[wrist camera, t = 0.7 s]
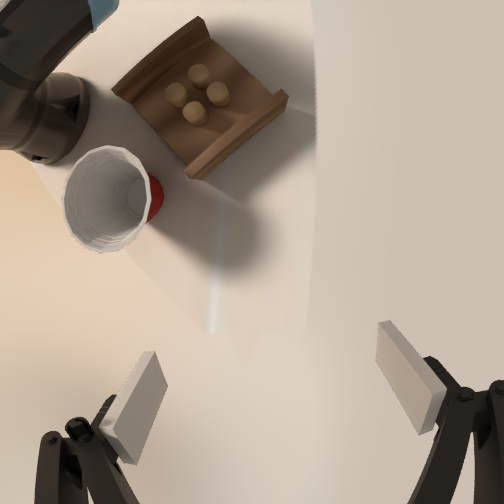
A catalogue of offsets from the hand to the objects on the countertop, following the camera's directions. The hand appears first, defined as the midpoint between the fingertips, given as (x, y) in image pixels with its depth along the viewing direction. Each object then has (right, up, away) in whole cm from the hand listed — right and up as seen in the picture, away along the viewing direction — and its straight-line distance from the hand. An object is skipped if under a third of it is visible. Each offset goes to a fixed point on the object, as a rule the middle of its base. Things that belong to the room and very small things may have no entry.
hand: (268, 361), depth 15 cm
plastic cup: (-15, +14, +21) cm, 30 cm away
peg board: (-7, +26, +18) cm, 32 cm away
